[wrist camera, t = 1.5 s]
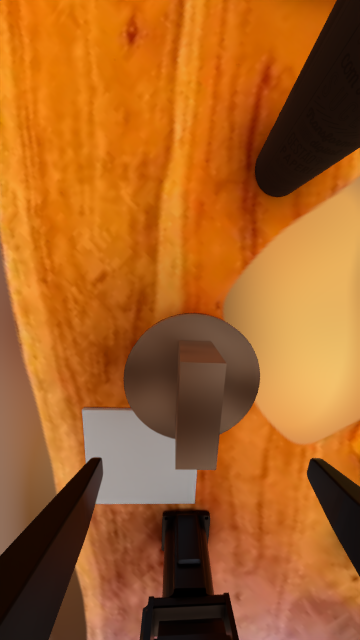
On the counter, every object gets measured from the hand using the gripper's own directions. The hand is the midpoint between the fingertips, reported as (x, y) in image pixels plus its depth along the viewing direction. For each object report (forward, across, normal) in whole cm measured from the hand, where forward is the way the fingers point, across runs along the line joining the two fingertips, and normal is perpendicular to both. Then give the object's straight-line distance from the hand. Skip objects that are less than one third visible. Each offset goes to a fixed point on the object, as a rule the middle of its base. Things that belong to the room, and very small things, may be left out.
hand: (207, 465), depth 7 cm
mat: (+12, +5, +14) cm, 19 cm away
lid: (+8, 0, 0) cm, 8 cm away
